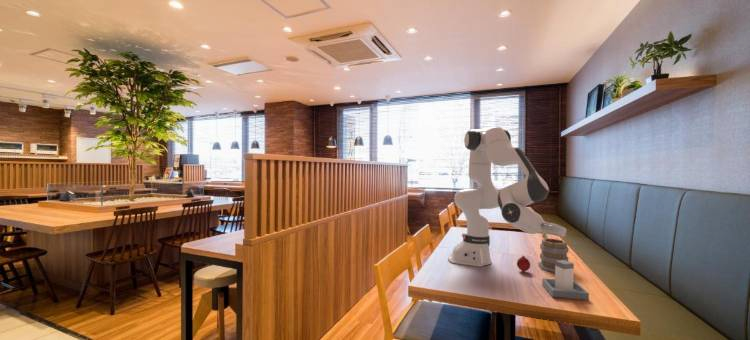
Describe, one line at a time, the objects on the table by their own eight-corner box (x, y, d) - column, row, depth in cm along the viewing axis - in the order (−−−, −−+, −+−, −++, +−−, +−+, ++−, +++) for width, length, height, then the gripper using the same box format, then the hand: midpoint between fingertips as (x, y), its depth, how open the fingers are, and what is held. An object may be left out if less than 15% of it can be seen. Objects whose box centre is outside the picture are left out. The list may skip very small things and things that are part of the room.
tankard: (573, 274, 145) (573, 242, 145) (544, 272, 148) (544, 241, 147) (557, 260, 165) (557, 233, 164) (531, 259, 167) (532, 232, 167)
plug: (564, 294, 121) (564, 264, 121) (554, 289, 126) (555, 260, 126) (573, 292, 123) (573, 263, 122) (563, 288, 127) (564, 259, 127)
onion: (532, 273, 146) (533, 256, 146) (523, 274, 144) (523, 257, 144) (523, 269, 151) (524, 253, 151) (514, 270, 150) (514, 254, 150)
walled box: (552, 297, 119) (552, 290, 119) (542, 285, 132) (542, 278, 132) (588, 300, 117) (588, 293, 117) (574, 287, 129) (574, 280, 129)
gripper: (560, 220, 113) (574, 228, 121) (508, 209, 130) (524, 217, 138) (555, 236, 112) (570, 244, 120) (504, 223, 129) (520, 230, 137)
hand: (545, 229), depth 129 cm, fingers open, 8 cm apart
